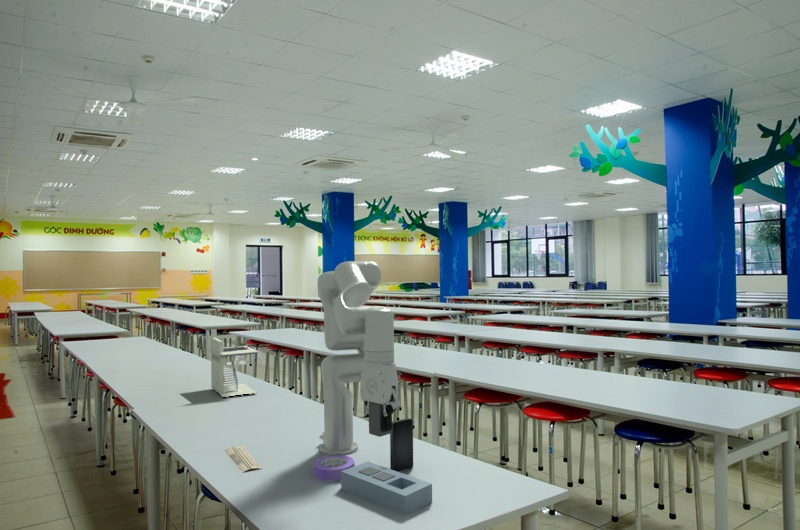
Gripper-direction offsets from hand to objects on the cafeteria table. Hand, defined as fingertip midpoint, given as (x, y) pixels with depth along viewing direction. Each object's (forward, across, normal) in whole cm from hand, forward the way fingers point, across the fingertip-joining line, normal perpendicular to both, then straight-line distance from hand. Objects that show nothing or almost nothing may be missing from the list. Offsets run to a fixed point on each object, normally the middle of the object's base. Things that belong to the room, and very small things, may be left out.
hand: (380, 428), depth 136 cm
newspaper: (+20, -56, -9) cm, 60 cm away
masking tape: (+20, -25, +4) cm, 32 cm away
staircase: (+19, -151, +40) cm, 157 cm away
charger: (+1, 0, 0) cm, 1 cm away
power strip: (+19, -3, +4) cm, 20 cm away
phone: (+20, -12, +20) cm, 30 cm away
